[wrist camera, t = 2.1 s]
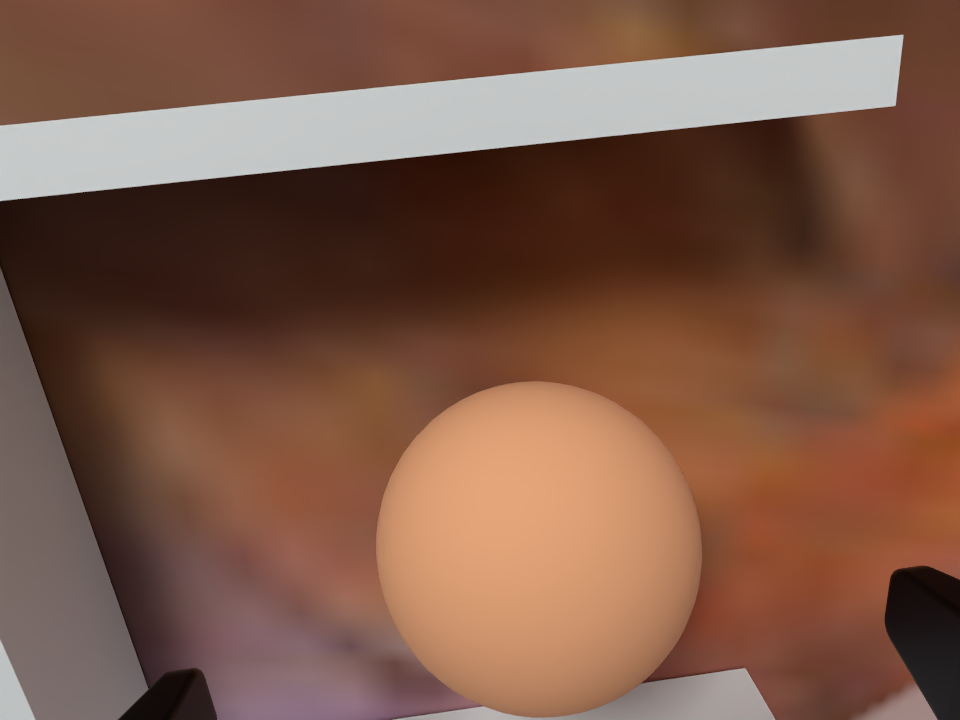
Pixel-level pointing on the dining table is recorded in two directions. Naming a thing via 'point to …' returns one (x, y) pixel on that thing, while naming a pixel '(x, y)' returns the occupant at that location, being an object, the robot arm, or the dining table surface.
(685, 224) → the dining table surface
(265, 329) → the dining table surface
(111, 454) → the dining table surface
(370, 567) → the dining table surface
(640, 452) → the ball
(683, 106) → the white c-shaped bracket
